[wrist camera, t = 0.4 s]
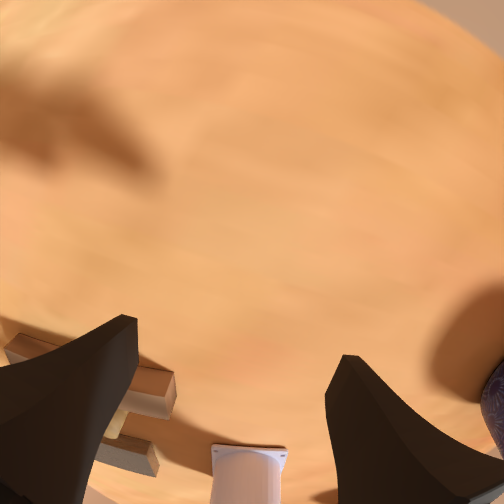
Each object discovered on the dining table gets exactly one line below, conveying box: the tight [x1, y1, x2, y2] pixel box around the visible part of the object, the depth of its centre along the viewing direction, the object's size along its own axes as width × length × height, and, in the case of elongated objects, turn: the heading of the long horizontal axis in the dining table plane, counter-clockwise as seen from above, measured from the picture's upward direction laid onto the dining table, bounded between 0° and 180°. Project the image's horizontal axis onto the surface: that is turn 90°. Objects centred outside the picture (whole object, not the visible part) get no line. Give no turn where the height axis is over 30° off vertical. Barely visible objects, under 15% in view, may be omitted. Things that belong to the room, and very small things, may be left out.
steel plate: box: [94, 434, 159, 477], centre depth 27 cm, size 6×10×2 cm, turn 87°
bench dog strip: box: [4, 333, 177, 439], centre depth 21 cm, size 5×18×5 cm, turn 86°
